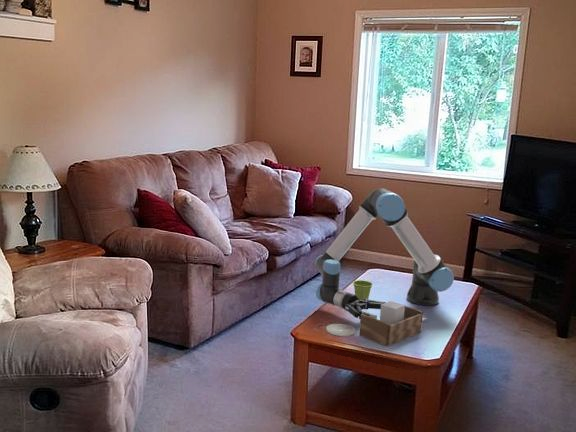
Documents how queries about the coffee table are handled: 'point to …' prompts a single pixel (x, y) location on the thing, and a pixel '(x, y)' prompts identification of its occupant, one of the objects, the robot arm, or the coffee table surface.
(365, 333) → the walnut cubby
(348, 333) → the cream coaster
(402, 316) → the supplement box
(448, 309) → the coffee table surface
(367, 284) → the plant pot
